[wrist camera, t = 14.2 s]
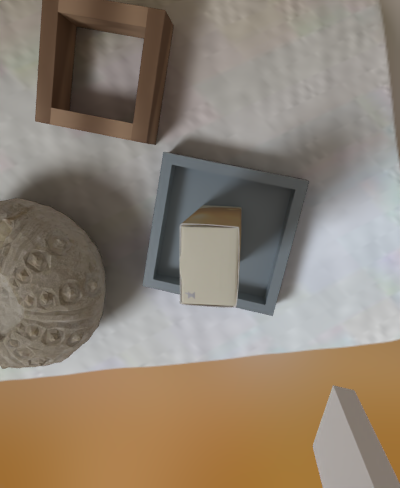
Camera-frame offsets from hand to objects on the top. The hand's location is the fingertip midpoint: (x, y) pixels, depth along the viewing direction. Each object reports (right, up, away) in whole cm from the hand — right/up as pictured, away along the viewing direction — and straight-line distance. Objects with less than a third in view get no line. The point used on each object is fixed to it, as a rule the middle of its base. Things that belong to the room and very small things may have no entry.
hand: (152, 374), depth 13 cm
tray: (+4, +6, +24) cm, 25 cm away
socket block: (-7, +22, +21) cm, 31 cm away
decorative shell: (-16, +2, +28) cm, 32 cm away
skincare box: (+4, +6, +23) cm, 24 cm away
